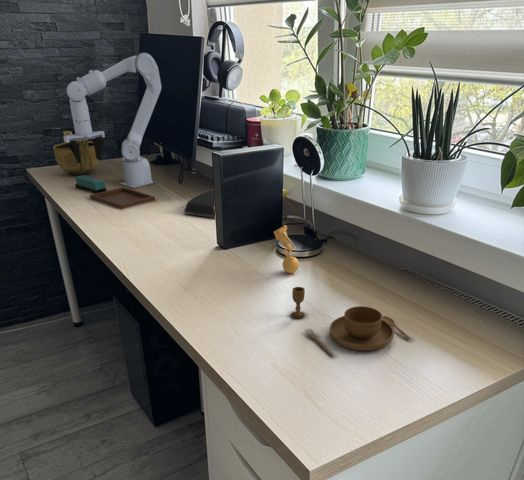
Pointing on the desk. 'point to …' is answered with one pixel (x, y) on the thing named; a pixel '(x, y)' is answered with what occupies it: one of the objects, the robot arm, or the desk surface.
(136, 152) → the robot arm
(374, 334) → the place setting
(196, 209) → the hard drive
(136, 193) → the tray
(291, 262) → the figurine
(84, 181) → the teal long block
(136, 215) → the desk surface
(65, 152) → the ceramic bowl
